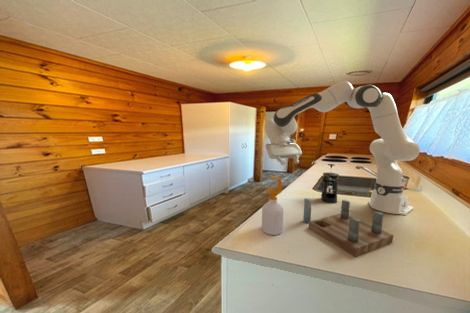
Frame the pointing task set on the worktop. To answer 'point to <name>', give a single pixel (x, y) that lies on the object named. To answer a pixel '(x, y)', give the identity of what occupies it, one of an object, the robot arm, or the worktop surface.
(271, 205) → the white orange spray bottle
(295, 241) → the worktop surface
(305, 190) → the worktop surface
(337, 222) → the stool
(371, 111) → the robot arm
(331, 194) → the french press
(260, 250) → the worktop surface
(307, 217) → the stool leg
